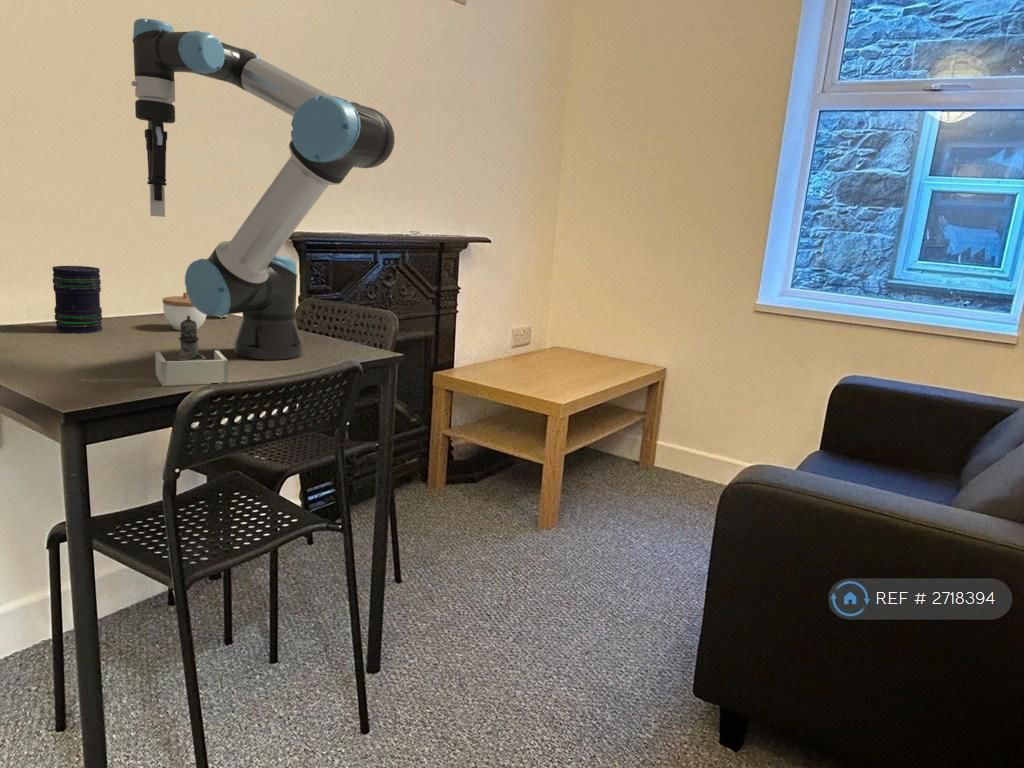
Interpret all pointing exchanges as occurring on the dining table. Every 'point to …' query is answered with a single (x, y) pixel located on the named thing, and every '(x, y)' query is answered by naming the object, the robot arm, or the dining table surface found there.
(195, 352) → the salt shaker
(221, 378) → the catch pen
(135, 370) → the dining table surface
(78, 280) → the storage jar
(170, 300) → the lidded jar
